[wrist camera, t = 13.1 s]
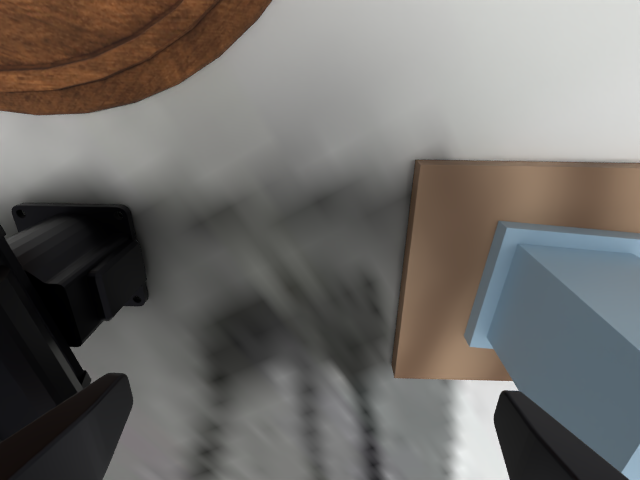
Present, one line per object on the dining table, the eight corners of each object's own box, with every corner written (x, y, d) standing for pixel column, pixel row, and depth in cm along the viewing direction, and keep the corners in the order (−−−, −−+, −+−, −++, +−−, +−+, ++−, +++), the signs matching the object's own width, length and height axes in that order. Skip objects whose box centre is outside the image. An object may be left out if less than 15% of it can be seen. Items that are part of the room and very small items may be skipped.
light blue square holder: (463, 335, 23) (563, 526, 13) (498, 220, 20) (662, 359, 10) (585, 346, 23) (773, 543, 13) (639, 233, 20) (936, 382, 10)
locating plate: (391, 364, 25) (402, 416, 21) (415, 159, 20) (436, 179, 16) (628, 370, 25) (682, 424, 21) (722, 164, 19) (819, 186, 15)
